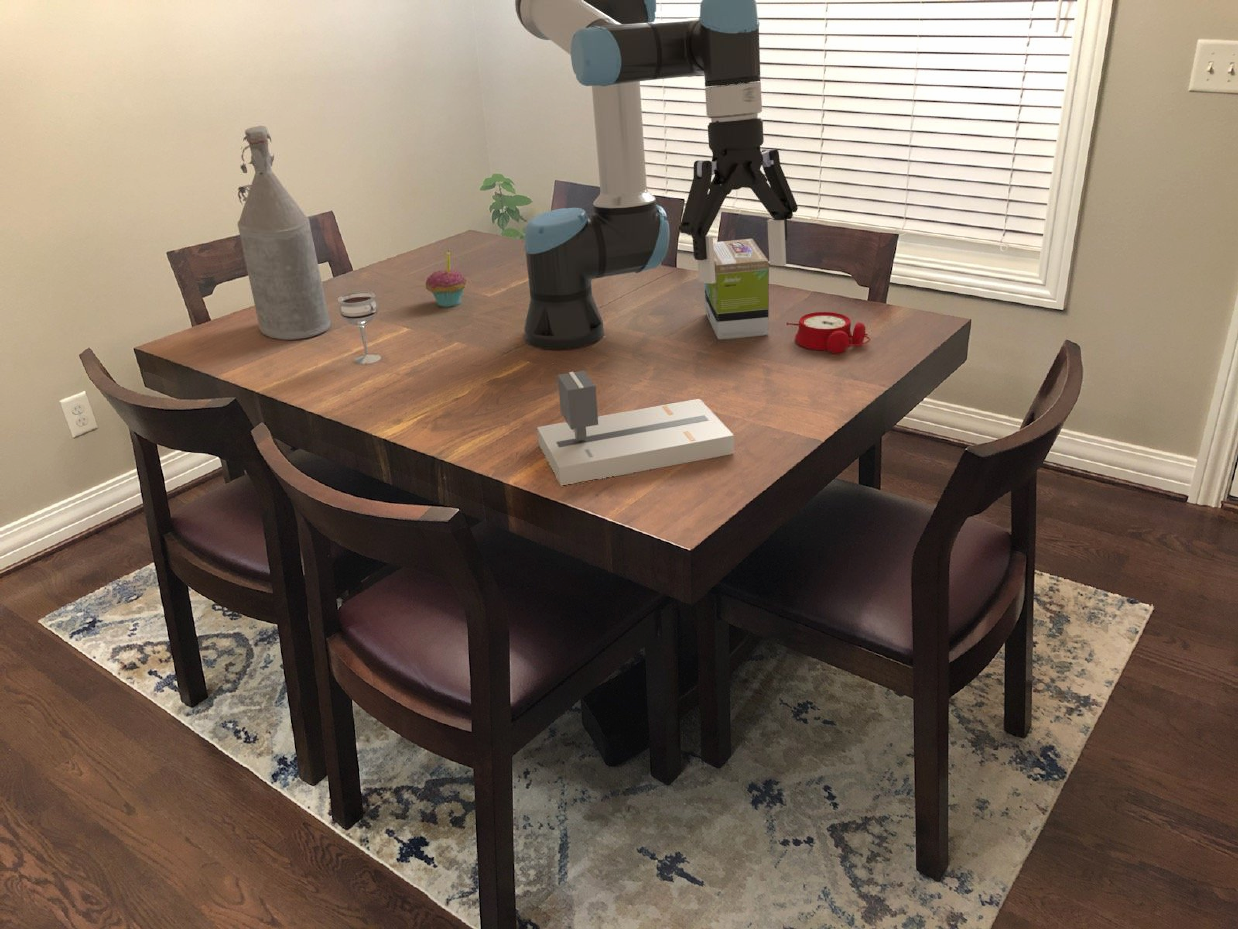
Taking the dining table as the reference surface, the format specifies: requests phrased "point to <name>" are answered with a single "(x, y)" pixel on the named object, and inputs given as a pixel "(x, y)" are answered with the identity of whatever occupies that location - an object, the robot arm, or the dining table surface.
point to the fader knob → (578, 402)
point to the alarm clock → (828, 332)
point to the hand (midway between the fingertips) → (743, 273)
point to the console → (636, 442)
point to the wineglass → (360, 317)
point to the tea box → (738, 290)
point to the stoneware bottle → (279, 252)
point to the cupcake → (446, 285)
